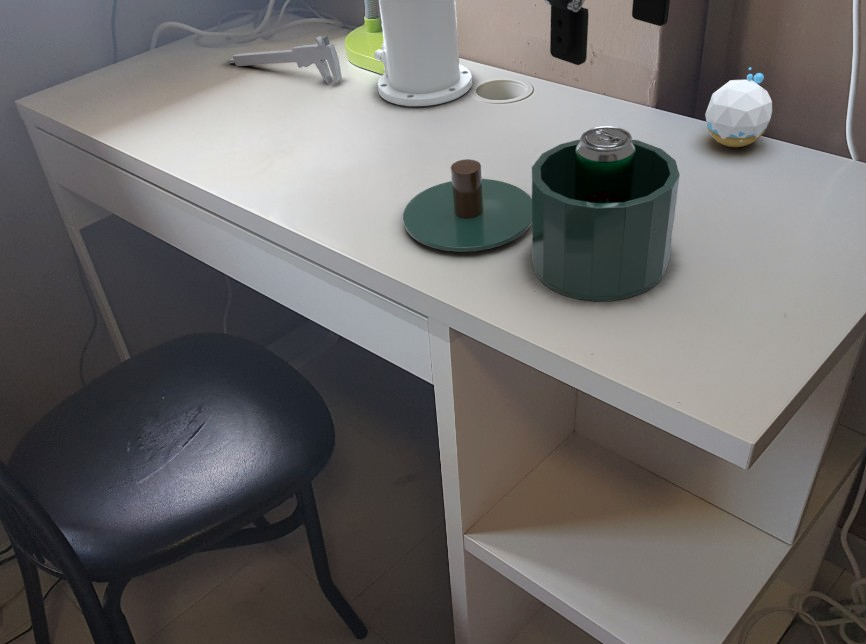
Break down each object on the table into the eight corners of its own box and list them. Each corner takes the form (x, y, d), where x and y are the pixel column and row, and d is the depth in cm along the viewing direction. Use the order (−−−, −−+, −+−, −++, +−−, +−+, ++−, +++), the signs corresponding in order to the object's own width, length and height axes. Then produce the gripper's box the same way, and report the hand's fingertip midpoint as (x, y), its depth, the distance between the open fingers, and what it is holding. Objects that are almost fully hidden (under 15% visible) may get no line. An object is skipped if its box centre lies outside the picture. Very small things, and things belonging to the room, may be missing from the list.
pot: (505, 264, 81) (502, 174, 74) (592, 212, 86) (596, 124, 80) (606, 319, 73) (613, 224, 67) (694, 258, 79) (708, 165, 73)
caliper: (343, 82, 116) (335, 35, 112) (338, 85, 115) (330, 38, 111) (233, 62, 125) (222, 18, 120) (228, 65, 124) (217, 20, 120)
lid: (377, 223, 88) (369, 170, 84) (472, 175, 94) (469, 123, 90) (465, 273, 80) (462, 217, 76) (562, 216, 86) (564, 161, 82)
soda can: (593, 236, 82) (599, 118, 74) (637, 253, 79) (648, 133, 71) (561, 259, 80) (563, 140, 72) (604, 278, 77) (612, 156, 69)
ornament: (749, 164, 91) (763, 92, 86) (689, 148, 95) (699, 78, 89) (777, 139, 95) (791, 68, 89) (718, 125, 98) (728, 56, 93)
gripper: (664, -252, 60) (642, -2, 72) (491, -209, 53) (498, 63, 65) (755, -247, 56) (715, 18, 68) (581, -199, 49) (571, 89, 60)
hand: (609, 40), depth 66 cm, fingers open, 9 cm apart
